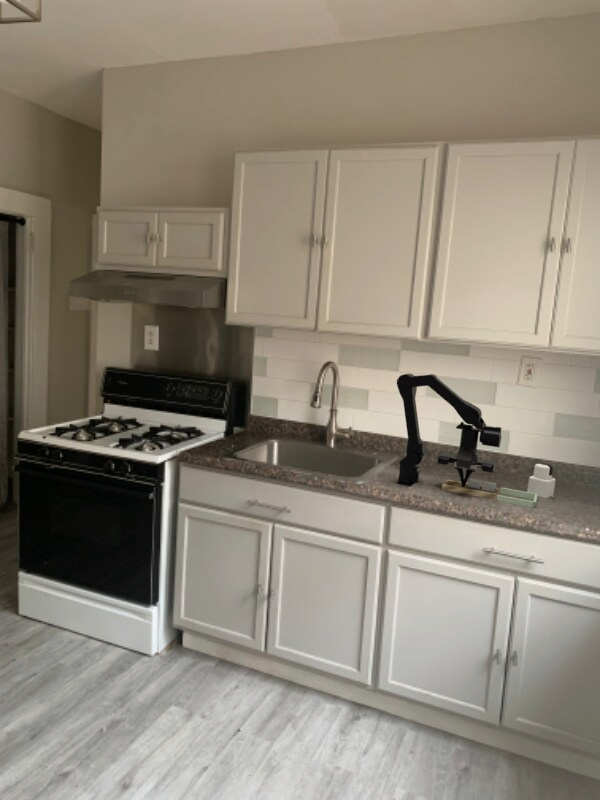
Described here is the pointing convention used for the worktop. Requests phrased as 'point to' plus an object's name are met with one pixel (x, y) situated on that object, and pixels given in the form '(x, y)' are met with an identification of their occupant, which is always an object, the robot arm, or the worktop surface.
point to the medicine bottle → (542, 481)
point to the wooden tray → (457, 487)
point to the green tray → (515, 500)
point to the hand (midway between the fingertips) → (463, 486)
